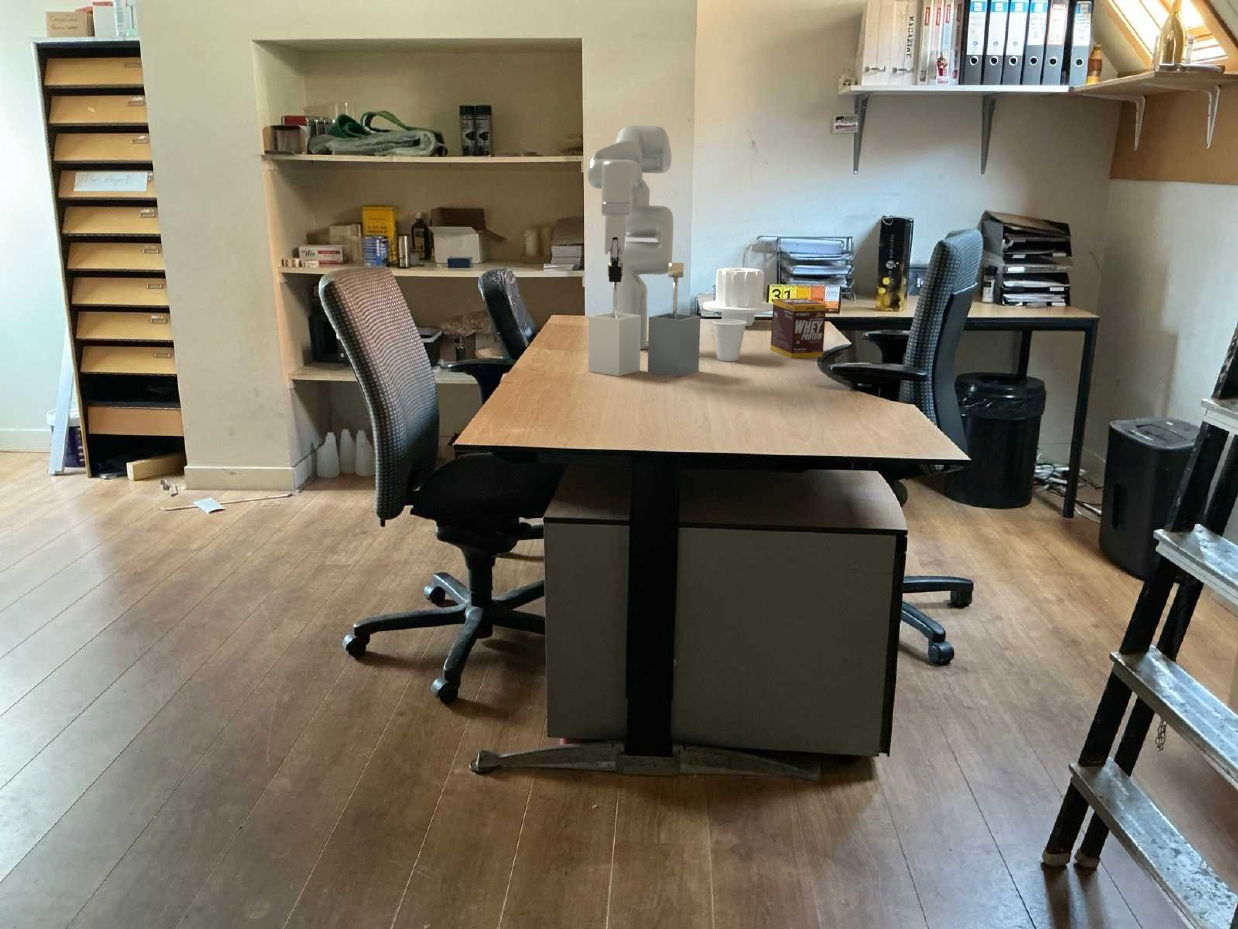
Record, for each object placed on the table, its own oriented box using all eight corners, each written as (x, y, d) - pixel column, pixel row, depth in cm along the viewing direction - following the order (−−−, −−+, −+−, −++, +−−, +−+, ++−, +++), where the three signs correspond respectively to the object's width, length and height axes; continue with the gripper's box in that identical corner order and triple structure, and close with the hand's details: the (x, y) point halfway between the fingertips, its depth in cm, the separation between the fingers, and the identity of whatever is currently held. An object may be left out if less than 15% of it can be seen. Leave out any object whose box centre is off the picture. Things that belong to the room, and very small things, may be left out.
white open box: (588, 371, 279) (588, 316, 274) (610, 365, 286) (610, 311, 282) (618, 376, 273) (619, 319, 269) (639, 370, 281) (640, 315, 277)
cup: (743, 363, 292) (745, 324, 289) (708, 361, 294) (710, 323, 291) (746, 357, 301) (748, 319, 298) (712, 355, 303) (714, 318, 300)
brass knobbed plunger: (653, 336, 276) (655, 263, 270) (669, 333, 282) (671, 261, 277) (678, 340, 272) (680, 265, 266) (694, 336, 278) (697, 263, 272)
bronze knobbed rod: (593, 336, 276) (594, 262, 271) (611, 332, 282) (611, 260, 277) (618, 339, 272) (619, 264, 266) (635, 335, 278) (636, 262, 273)
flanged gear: (695, 327, 355) (697, 271, 350) (710, 317, 378) (712, 265, 373) (767, 331, 348) (770, 274, 343) (778, 320, 371) (781, 267, 366)
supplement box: (791, 358, 300) (794, 305, 296) (769, 349, 315) (772, 298, 310) (823, 357, 303) (827, 304, 299) (801, 348, 317) (804, 297, 313)
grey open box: (647, 372, 278) (648, 316, 274) (667, 366, 286) (669, 312, 282) (679, 377, 273) (680, 320, 269) (698, 371, 281) (700, 316, 276)
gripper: (602, 208, 276) (602, 277, 281) (600, 211, 260) (599, 284, 265) (630, 208, 276) (629, 277, 281) (630, 211, 260) (629, 284, 265)
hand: (615, 280), depth 273 cm, fingers closed on bronze knobbed rod, 4 cm apart
